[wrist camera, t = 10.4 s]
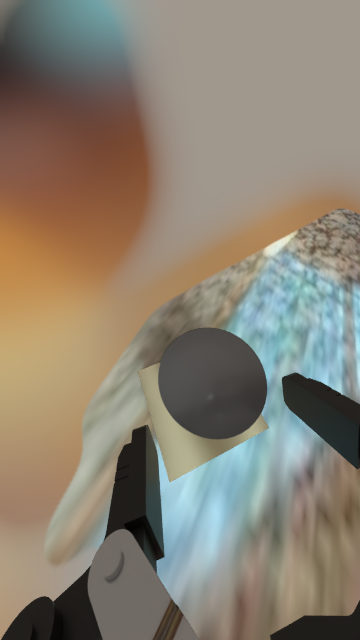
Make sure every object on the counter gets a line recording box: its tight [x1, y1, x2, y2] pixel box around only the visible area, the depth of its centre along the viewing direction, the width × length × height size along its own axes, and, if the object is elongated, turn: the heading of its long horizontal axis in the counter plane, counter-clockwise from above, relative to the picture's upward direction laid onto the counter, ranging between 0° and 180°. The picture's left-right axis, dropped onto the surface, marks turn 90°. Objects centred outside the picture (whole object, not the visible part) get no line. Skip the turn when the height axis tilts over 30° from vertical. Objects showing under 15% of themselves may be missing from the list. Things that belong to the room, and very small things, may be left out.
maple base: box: [138, 362, 269, 482], centre depth 19 cm, size 10×10×4 cm
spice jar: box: [158, 328, 267, 440], centre depth 13 cm, size 6×6×10 cm
